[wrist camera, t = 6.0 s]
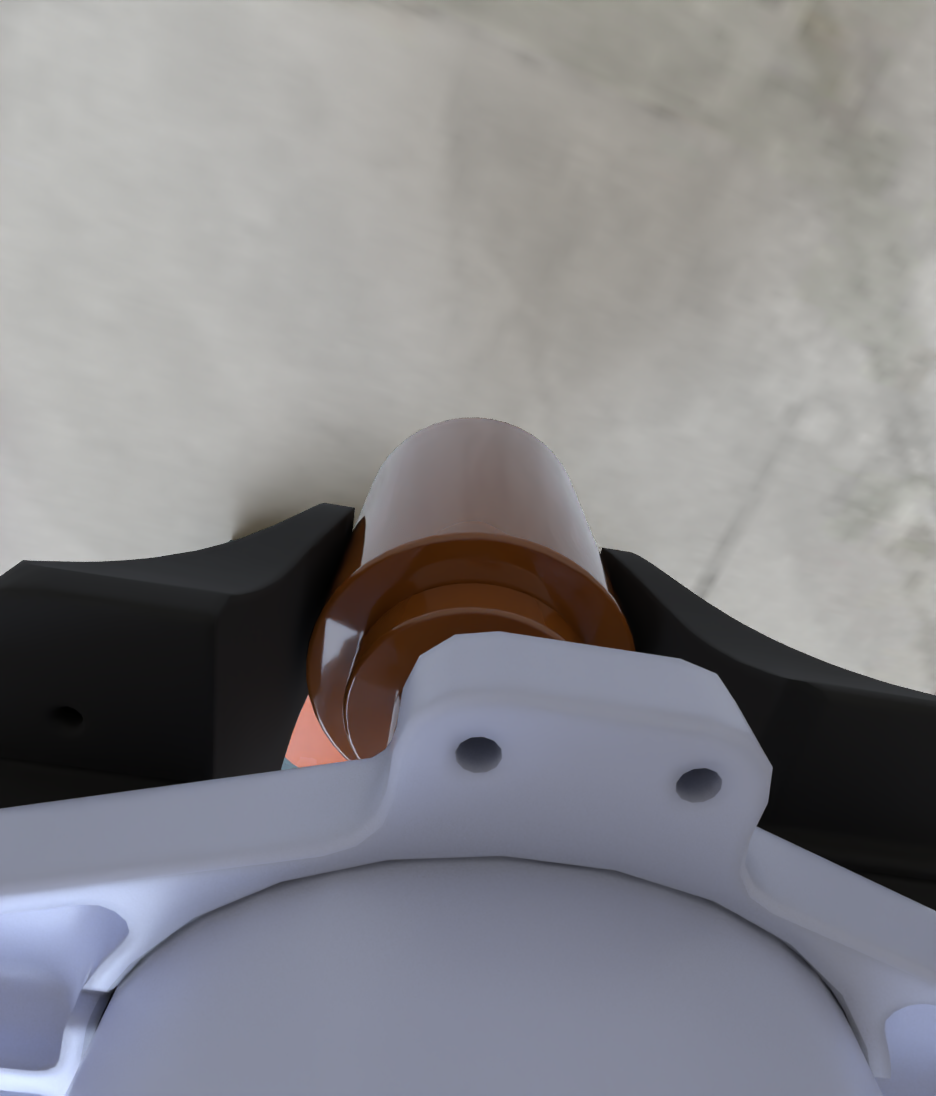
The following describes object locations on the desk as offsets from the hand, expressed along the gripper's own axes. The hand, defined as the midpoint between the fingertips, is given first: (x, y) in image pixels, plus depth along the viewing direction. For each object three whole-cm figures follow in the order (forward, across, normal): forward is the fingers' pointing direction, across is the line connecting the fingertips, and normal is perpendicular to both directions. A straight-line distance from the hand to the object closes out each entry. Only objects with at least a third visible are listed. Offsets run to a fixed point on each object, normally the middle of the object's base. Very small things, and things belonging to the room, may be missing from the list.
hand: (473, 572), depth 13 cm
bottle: (+3, 0, 0) cm, 3 cm away
